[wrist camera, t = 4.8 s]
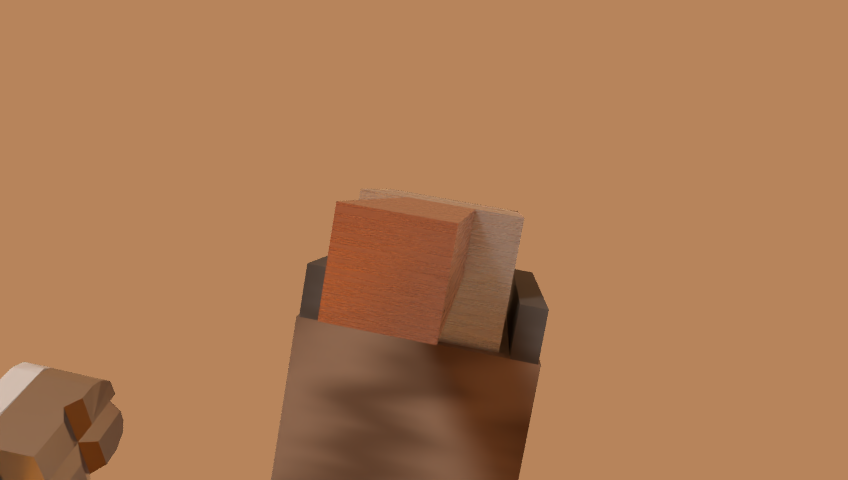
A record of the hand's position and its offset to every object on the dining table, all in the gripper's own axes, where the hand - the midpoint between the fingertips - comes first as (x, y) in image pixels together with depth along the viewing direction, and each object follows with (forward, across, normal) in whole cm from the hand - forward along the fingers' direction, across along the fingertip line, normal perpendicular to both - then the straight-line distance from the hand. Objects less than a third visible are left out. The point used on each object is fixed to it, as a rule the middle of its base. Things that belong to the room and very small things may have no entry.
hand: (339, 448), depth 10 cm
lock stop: (+9, 0, +6) cm, 11 cm away
